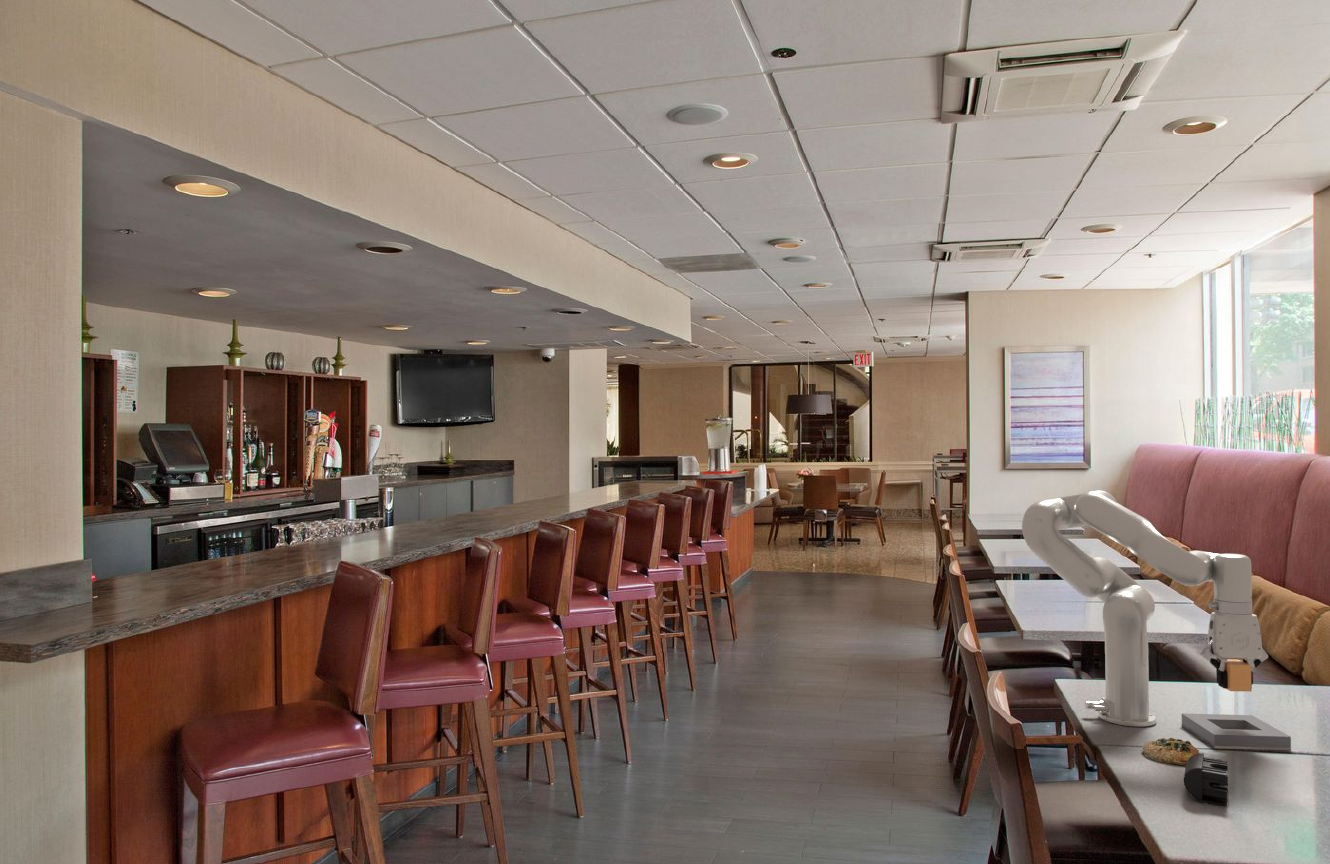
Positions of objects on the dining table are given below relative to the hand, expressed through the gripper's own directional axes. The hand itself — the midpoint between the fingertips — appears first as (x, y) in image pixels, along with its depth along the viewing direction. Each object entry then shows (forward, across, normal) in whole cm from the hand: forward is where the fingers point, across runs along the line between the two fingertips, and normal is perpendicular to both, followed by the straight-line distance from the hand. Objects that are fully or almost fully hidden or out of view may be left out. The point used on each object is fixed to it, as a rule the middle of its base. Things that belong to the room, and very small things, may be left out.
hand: (1234, 686), depth 212 cm
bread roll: (+12, -20, -15) cm, 28 cm away
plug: (0, 0, 0) cm, 0 cm away
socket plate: (+12, 0, 0) cm, 12 cm away
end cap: (+12, -23, -37) cm, 45 cm away
